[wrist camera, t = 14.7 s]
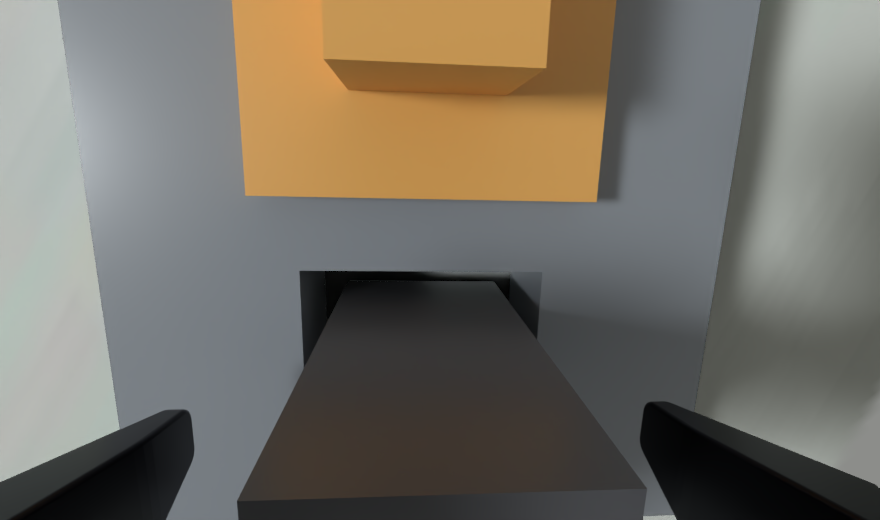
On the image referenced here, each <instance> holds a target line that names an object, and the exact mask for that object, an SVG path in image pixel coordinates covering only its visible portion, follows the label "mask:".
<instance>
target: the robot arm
mask: <svg viewBox="0 0 880 520" xmlns="http://www.w3.org/2000/svg"><path fill="white" fill-rule="evenodd" d="M640 446H641V449H642V451H643V454H644V456H645V458H646V460H647V462H648V464H649V466H650V468H651V470H652V472H653V474H654V476H655V478H656V480H657V482H658V484H659V486H660V488H661V490H662V492H663V494H664V496H665V498H666V500H667V502H668V504H669V506H670V508H671V510H672V512H673V513H674V515H675V517H676V519H677V520H880V488H878V487H877V486H876V485H875V484H873V483H870V482H868V481H865V480H862V479H860V478H858V477H855V476H853V475H850V474H848V473H845V472H843V471H840V470H838V469H835V468H833V467H830V466H828V465H825V464H823V463H820V462H818V461H815V460H813V459H810V458H808V457H805V456H803V455H800V454H798V453H795V452H793V451H790V450H788V449H785V448H783V447H780V446H778V445H775V444H773V443H770V442H768V441H765V440H763V439H760V438H758V437H755V436H753V435H750V434H748V433H745V432H743V431H740V430H738V429H735V428H733V427H730V426H728V425H725V424H723V423H720V422H718V421H715V420H713V419H710V418H708V417H705V416H703V415H700V414H698V413H695V412H693V411H690V410H688V409H685V408H683V407H680V406H678V405H675V404H673V403H670V402H667V401H651V402H648V403H646V404H645V406H644V410H643V416H642V424H641V431H640ZM194 451H195V447H194V437H193V428H192V418H191V415H190V412H189V411H188V410H185V409H168V410H163V411H161V412H158V413H156V414H154V415H152V416H149V417H147V418H145V419H143V420H140V421H138V422H136V423H134V424H131V425H129V426H127V427H125V428H122V429H120V430H118V431H115V432H113V433H111V434H109V435H106V436H104V437H102V438H100V439H97V440H95V441H93V442H91V443H88V444H86V445H84V446H81V447H79V448H77V449H75V450H72V451H70V452H68V453H66V454H63V455H61V456H59V457H57V458H54V459H52V460H50V461H48V462H45V463H43V464H41V465H38V466H36V467H34V468H32V469H29V470H27V471H25V472H23V473H20V474H18V475H16V476H14V477H11V478H9V479H7V480H5V481H2V482H0V520H166V519H167V517H168V514H169V512H170V510H171V508H172V506H173V503H174V501H175V499H176V497H177V494H178V492H179V490H180V488H181V486H182V483H183V481H184V479H185V477H186V474H187V472H188V470H189V468H190V466H191V463H192V461H193V457H194Z"/></svg>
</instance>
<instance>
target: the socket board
mask: <svg viewBox="0 0 880 520" xmlns="http://www.w3.org/2000/svg"><path fill="white" fill-rule="evenodd" d="M760 3H761V0H616V10H615V20H614V30H613V40H612V51H611V61H610V71H609V81H608V91H607V101H606V111H605V121H604V131H603V141H602V152H601V162H600V172H599V182H598V192H597V202H556V201H502V200H449V199H395V198H341V197H288V196H245V183H244V169H243V154H242V140H241V125H240V111H239V96H238V82H237V67H236V53H235V38H234V24H233V10H232V0H58V7H59V14H60V21H61V28H62V34H63V41H64V48H65V55H66V62H67V69H68V76H69V83H70V89H71V96H72V103H73V110H74V117H75V124H76V131H77V138H78V145H79V151H80V158H81V165H82V172H83V179H84V186H85V193H86V200H87V206H88V213H89V220H90V227H91V234H92V241H93V248H94V255H95V262H96V268H97V275H98V282H99V289H100V296H101V303H102V310H103V317H104V323H105V330H106V337H107V344H108V351H109V358H110V365H111V372H112V378H113V385H114V392H115V399H116V406H117V413H118V420H119V427H120V429H122V428H125V427H127V426H129V425H131V424H134V423H136V422H138V421H140V420H143V419H145V418H147V417H149V416H152V415H154V414H156V413H158V412H161V411H163V410H168V409H185V410H188V411H189V412H190V415H191V418H192V428H193V437H194V447H195V451H194V457H193V461H192V463H191V466H190V468H189V470H188V472H187V474H186V477H185V479H184V481H183V483H182V486H181V488H180V490H179V492H178V494H177V497H176V499H175V501H174V503H173V506H172V508H171V510H170V512H169V514H168V517H167V519H166V520H238V509H237V500H238V498H239V496H240V494H241V492H242V490H243V488H244V486H245V484H246V482H247V480H248V478H249V476H250V474H251V472H252V470H253V468H254V466H255V464H256V462H257V460H258V458H259V456H260V454H261V452H262V450H263V448H264V446H265V444H266V442H267V440H268V438H269V436H270V434H271V432H272V431H273V429H274V427H275V425H276V423H277V421H278V419H279V417H280V415H281V413H282V411H283V409H284V407H285V405H286V403H287V401H288V399H289V397H290V395H291V393H292V391H293V389H294V387H295V385H296V383H297V381H298V379H299V377H300V375H301V373H302V371H303V369H304V367H305V365H306V363H307V361H308V359H309V357H310V355H311V353H312V351H313V349H314V347H315V345H316V343H317V341H318V339H319V337H320V335H321V333H322V331H323V329H324V327H325V325H326V323H327V317H326V286H325V271H439V272H511V274H510V290H509V303H510V304H511V305H512V307H513V308H514V309H515V311H516V312H517V313H518V315H519V316H520V317H521V319H522V320H523V322H524V323H525V324H526V326H527V327H528V328H529V330H530V331H531V332H532V334H533V335H534V336H535V338H536V339H537V340H538V342H539V343H540V344H541V346H542V347H543V349H544V350H545V351H546V353H547V354H548V355H549V357H550V358H551V359H552V361H553V362H554V363H555V365H556V366H557V367H558V369H559V370H560V372H561V373H562V374H563V376H564V377H565V378H566V380H567V381H568V382H569V384H570V385H571V386H572V388H573V389H574V390H575V392H576V393H577V394H578V396H579V397H580V399H581V400H582V401H583V403H584V404H585V405H586V407H587V408H588V409H589V411H590V412H591V413H592V415H593V416H594V417H595V419H596V420H597V421H598V423H599V424H600V426H601V427H602V428H603V430H604V431H605V432H606V434H607V435H608V436H609V438H610V439H611V440H612V442H613V443H614V444H615V446H616V447H617V449H618V450H619V451H620V453H621V454H622V455H623V457H624V458H625V459H626V461H627V462H628V463H629V465H630V466H631V467H632V469H633V470H634V471H635V473H636V474H637V476H638V477H639V478H640V480H641V481H642V482H643V484H644V485H645V486H646V488H647V494H646V501H645V508H644V514H643V516H658V515H674V513H673V512H672V510H671V508H670V506H669V504H668V502H667V500H666V498H665V496H664V494H663V492H662V490H661V488H660V486H659V484H658V482H657V480H656V478H655V476H654V474H653V472H652V470H651V468H650V466H649V464H648V462H647V460H646V458H645V456H644V454H643V451H642V449H641V446H640V431H641V424H642V416H643V410H644V406H645V404H646V403H648V402H651V401H667V402H670V403H673V404H675V405H678V406H680V407H683V408H685V409H688V410H690V411H693V412H694V410H695V403H696V397H697V391H698V385H699V379H700V373H701V366H702V360H703V354H704V348H705V342H706V336H707V329H708V323H709V317H710V311H711V305H712V299H713V292H714V286H715V280H716V274H717V268H718V262H719V255H720V249H721V243H722V237H723V231H724V225H725V218H726V212H727V206H728V200H729V194H730V188H731V181H732V175H733V169H734V163H735V157H736V151H737V144H738V138H739V132H740V126H741V120H742V114H743V107H744V101H745V95H746V89H747V83H748V77H749V70H750V64H751V58H752V52H753V46H754V40H755V33H756V27H757V21H758V15H759V9H760Z"/></svg>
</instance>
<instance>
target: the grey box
mask: <svg viewBox="0 0 880 520" xmlns="http://www.w3.org/2000/svg"><path fill="white" fill-rule="evenodd" d="M646 494H647V488H646V486H645V485H644V484H643V482H642V481H641V480H640V478H639V477H638V476H637V474H636V473H635V471H634V470H633V469H632V467H631V466H630V465H629V463H628V462H627V461H626V459H625V458H624V457H623V455H622V454H621V453H620V451H619V450H618V449H617V447H616V446H615V444H614V443H613V442H612V440H611V439H610V438H609V436H608V435H607V434H606V432H605V431H604V430H603V428H602V427H601V426H600V424H599V423H598V421H597V420H596V419H595V417H594V416H593V415H592V413H591V412H590V411H589V409H588V408H587V407H586V405H585V404H584V403H583V401H582V400H581V399H580V397H579V396H578V394H577V393H576V392H575V390H574V389H573V388H572V386H571V385H570V384H569V382H568V381H567V380H566V378H565V377H564V376H563V374H562V373H561V372H560V370H559V369H558V367H557V366H556V365H555V363H554V362H553V361H552V359H551V358H550V357H549V355H548V354H547V353H546V351H545V350H544V349H543V347H542V346H541V344H540V343H539V342H538V340H537V339H536V338H535V336H534V335H533V334H532V332H531V331H530V330H529V328H528V327H527V326H526V324H525V323H524V322H523V320H522V319H521V317H520V316H519V315H518V313H517V312H516V311H515V309H514V308H513V307H512V305H511V304H510V303H509V301H508V300H507V299H506V297H505V296H504V295H503V293H502V292H501V290H500V289H499V288H498V286H497V285H496V284H495V282H490V281H355V280H348V282H347V284H346V286H345V288H344V290H343V292H342V294H341V296H340V298H339V300H338V302H337V304H336V306H335V308H334V310H333V312H332V314H331V316H330V318H329V320H328V322H327V323H326V325H325V327H324V329H323V331H322V333H321V335H320V337H319V339H318V341H317V343H316V345H315V347H314V349H313V351H312V353H311V355H310V357H309V359H308V361H307V363H306V365H305V367H304V369H303V371H302V373H301V375H300V377H299V379H298V381H297V383H296V385H295V387H294V389H293V391H292V393H291V395H290V397H289V399H288V401H287V403H286V405H285V407H284V409H283V411H282V413H281V415H280V417H279V419H278V421H277V423H276V425H275V427H274V429H273V431H272V432H271V434H270V436H269V438H268V440H267V442H266V444H265V446H264V448H263V450H262V452H261V454H260V456H259V458H258V460H257V462H256V464H255V466H254V468H253V470H252V472H251V474H250V476H249V478H248V480H247V482H246V484H245V486H244V488H243V490H242V492H241V494H240V496H239V498H238V500H237V509H238V520H643V514H644V508H645V501H646Z"/></svg>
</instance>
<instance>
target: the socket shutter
mask: <svg viewBox="0 0 880 520" xmlns="http://www.w3.org/2000/svg"><path fill="white" fill-rule="evenodd" d="M232 10H233V24H234V38H235V53H236V67H237V82H238V96H239V111H240V125H241V140H242V154H243V169H244V183H245V196H288V197H341V198H395V199H449V200H502V201H556V202H597V192H598V182H599V172H600V162H601V152H602V141H603V131H604V121H605V111H606V101H607V91H608V81H609V71H610V61H611V51H612V40H613V30H614V20H615V10H616V0H232Z"/></svg>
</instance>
